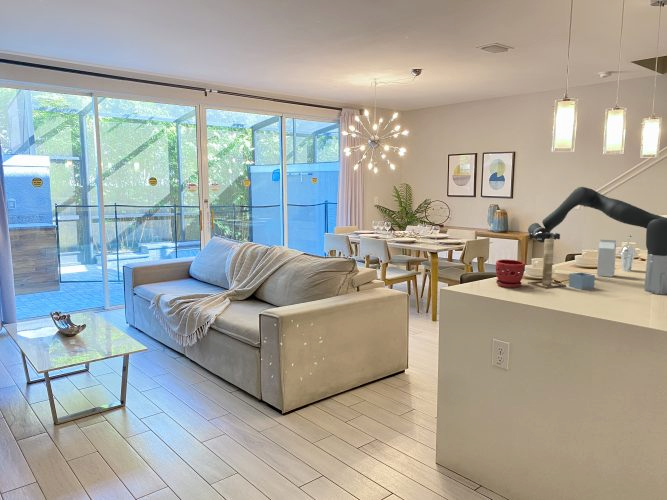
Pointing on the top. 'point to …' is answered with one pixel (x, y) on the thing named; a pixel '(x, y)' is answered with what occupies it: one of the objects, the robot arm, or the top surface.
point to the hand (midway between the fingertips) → (546, 237)
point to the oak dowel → (547, 262)
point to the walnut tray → (547, 286)
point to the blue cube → (581, 281)
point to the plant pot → (509, 273)
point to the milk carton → (606, 258)
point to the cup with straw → (627, 257)
